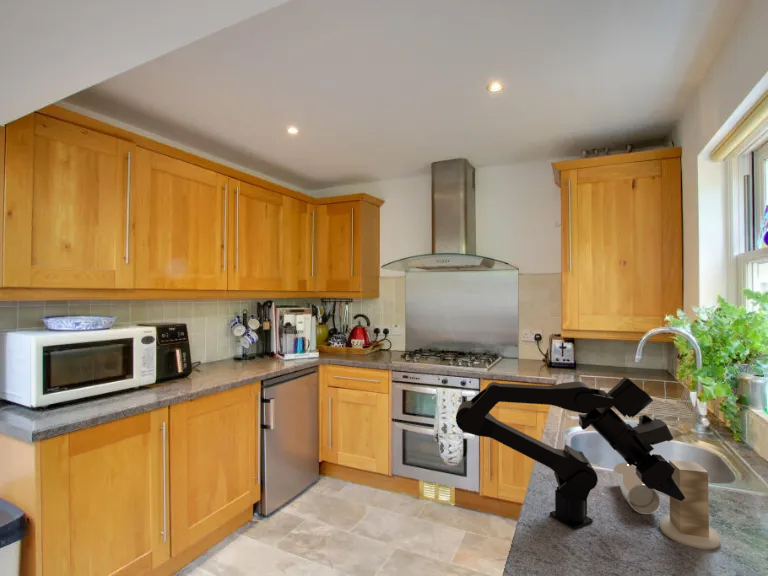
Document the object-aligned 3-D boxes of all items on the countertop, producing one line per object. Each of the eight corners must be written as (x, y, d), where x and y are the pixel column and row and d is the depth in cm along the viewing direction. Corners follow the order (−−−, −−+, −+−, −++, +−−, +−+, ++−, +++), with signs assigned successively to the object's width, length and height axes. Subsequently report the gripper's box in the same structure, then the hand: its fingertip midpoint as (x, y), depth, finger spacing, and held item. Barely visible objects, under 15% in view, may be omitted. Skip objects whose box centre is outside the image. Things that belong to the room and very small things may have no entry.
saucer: (703, 555, 77) (703, 548, 78) (649, 528, 86) (649, 522, 86) (730, 541, 82) (730, 535, 82) (676, 516, 91) (676, 511, 91)
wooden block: (680, 533, 82) (679, 469, 83) (669, 520, 87) (669, 459, 88) (709, 537, 81) (708, 472, 81) (696, 523, 86) (695, 462, 86)
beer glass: (629, 455, 106) (647, 478, 92) (647, 480, 104) (668, 506, 90) (605, 468, 107) (619, 492, 93) (622, 492, 106) (640, 521, 92)
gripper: (662, 419, 78) (730, 485, 75) (630, 396, 96) (684, 448, 93) (616, 456, 80) (681, 521, 77) (593, 426, 98) (645, 478, 95)
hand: (673, 488), depth 85 cm, fingers open, 9 cm apart
